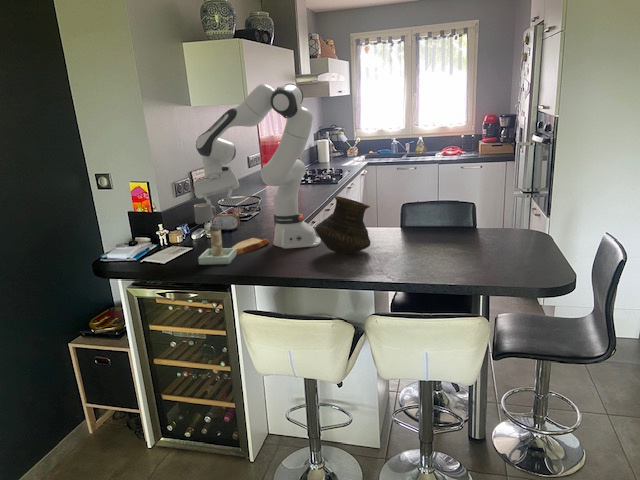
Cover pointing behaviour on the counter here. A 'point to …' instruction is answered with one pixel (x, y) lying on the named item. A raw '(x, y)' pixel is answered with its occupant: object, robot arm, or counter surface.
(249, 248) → the slice of bread
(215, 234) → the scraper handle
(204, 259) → the box
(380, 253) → the counter surface
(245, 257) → the counter surface
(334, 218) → the ceramic pot
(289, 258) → the counter surface
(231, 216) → the tin
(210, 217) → the coffee mug
